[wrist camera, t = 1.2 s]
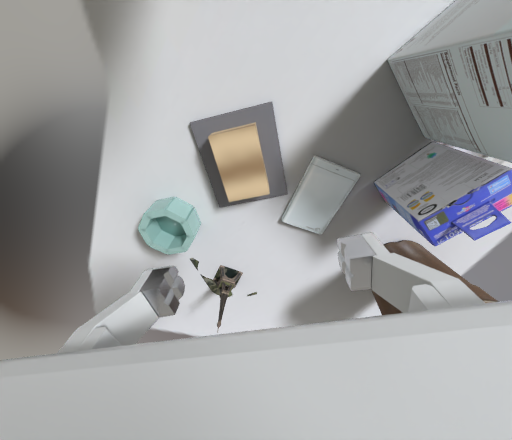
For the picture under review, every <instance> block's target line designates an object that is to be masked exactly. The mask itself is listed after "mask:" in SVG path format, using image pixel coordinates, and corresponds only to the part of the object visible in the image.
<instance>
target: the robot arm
mask: <svg viewBox="0 0 512 440" xmlns="http://www.w3.org/2000/svg"><path fill="white" fill-rule="evenodd" d="M337 246H338V248H339V250H340V251H339V252H338V260H339V265H340V268H341V270H342V273H344V274H345V275H346V281H347V284H348V286H349V288H350V290H351V291H358V290H367V289H372V291H374V292H375V293H376V294H378V295H379V296H381V297H382V298H383V299H385V300H386V301H388V302H389V303H390V304H392V305H393V306H394V307H396V308H397V309H399V310H400V311H401V312H403V313H399V314H390V315H382V316H373V317H365V318H356V319H348V320H339V321H331V322H322V323H314V324H305V325H296V326H288V327H279V328H270V329H262V330H253V331H245V332H236V333H228V334H219V335H211V336H202V337H194V338H185V339H177V340H168V341H160V342H152V343H142V344H136V343H137V342H138V341H139V340H140V339H141V338H142V336H143V335H144V334H145V333H146V332H147V331H148V330H149V329H150V328H151V327H152V325H153V324H154V323H155V322H156V321H157V320H158V319H159V317H165V316H171V315H175V313H176V311H177V308H178V306H179V304H180V303H179V301H178V300H179V299H180V298H181V297H182V296H183V294H184V289H185V285H184V281H183V279H182V278H181V277H180V276H178V270H177V268H176V267H175V266H168V267H161V268H155V269H148V270H145V271H144V272H143V273H142V275H141V276H140V278H139V279H138V280H137V282H136V283H135V285H134V286H133V288H132V289H131V290H130V292H129V293H128V294H125V295H123V296H122V297H121V298H119V299H118V300H116V301H115V302H114V303H112V304H111V305H110V306H108V307H107V308H105V309H104V310H103V311H101V312H100V313H98V314H97V315H96V316H94V317H93V318H92V319H90V320H89V321H87V322H86V323H85V324H83V325H82V326H80V327H79V328H78V329H76V331H75V332H74V333H73V334H72V335H71V337H70V338H69V339H68V340H67V342H66V343H65V344H64V345H63V346H62V348H61V349H60V350H59V351H58V353H56V354H48V355H39V356H31V357H22V358H14V359H6V360H0V440H512V300H510V301H501V302H493V303H484V302H483V301H482V300H481V299H480V298H479V297H478V296H477V295H476V294H475V293H474V292H473V291H472V290H470V289H469V288H468V287H467V286H466V285H465V284H464V283H463V282H462V281H461V280H460V279H458V278H455V277H453V276H450V275H448V274H445V273H443V272H440V271H438V270H435V269H433V268H430V267H428V266H425V265H423V264H420V263H418V262H415V261H413V260H410V259H408V258H405V257H403V256H401V255H398V254H396V253H390V252H389V251H388V250H387V249H386V248H385V246H384V245H383V244H382V243H381V242H380V240H379V239H378V238H377V237H376V236H375V234H374V233H373V232H368V233H363V234H360V235H354V236H348V237H342V238H337Z"/></svg>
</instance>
